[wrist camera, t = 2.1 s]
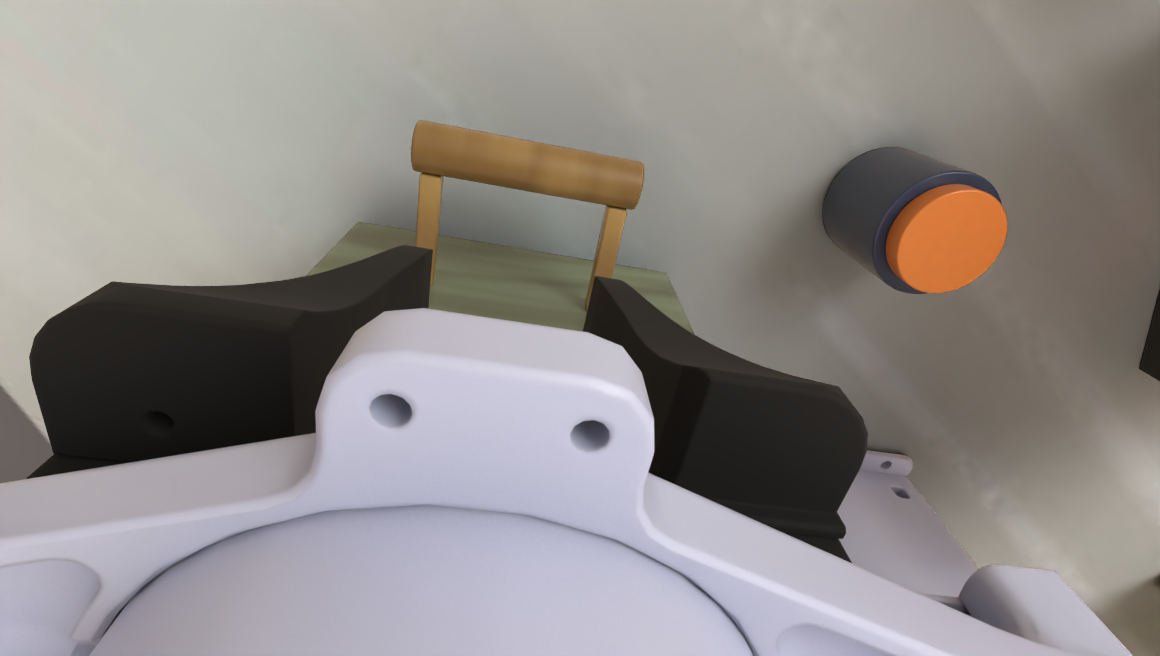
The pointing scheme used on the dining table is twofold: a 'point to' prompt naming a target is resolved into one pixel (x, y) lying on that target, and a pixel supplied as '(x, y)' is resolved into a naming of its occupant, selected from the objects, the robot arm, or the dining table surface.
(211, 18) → the dining table surface
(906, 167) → the navy jar orange lid
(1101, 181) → the dining table surface
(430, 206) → the drawer
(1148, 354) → the cleaning product box
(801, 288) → the dining table surface
